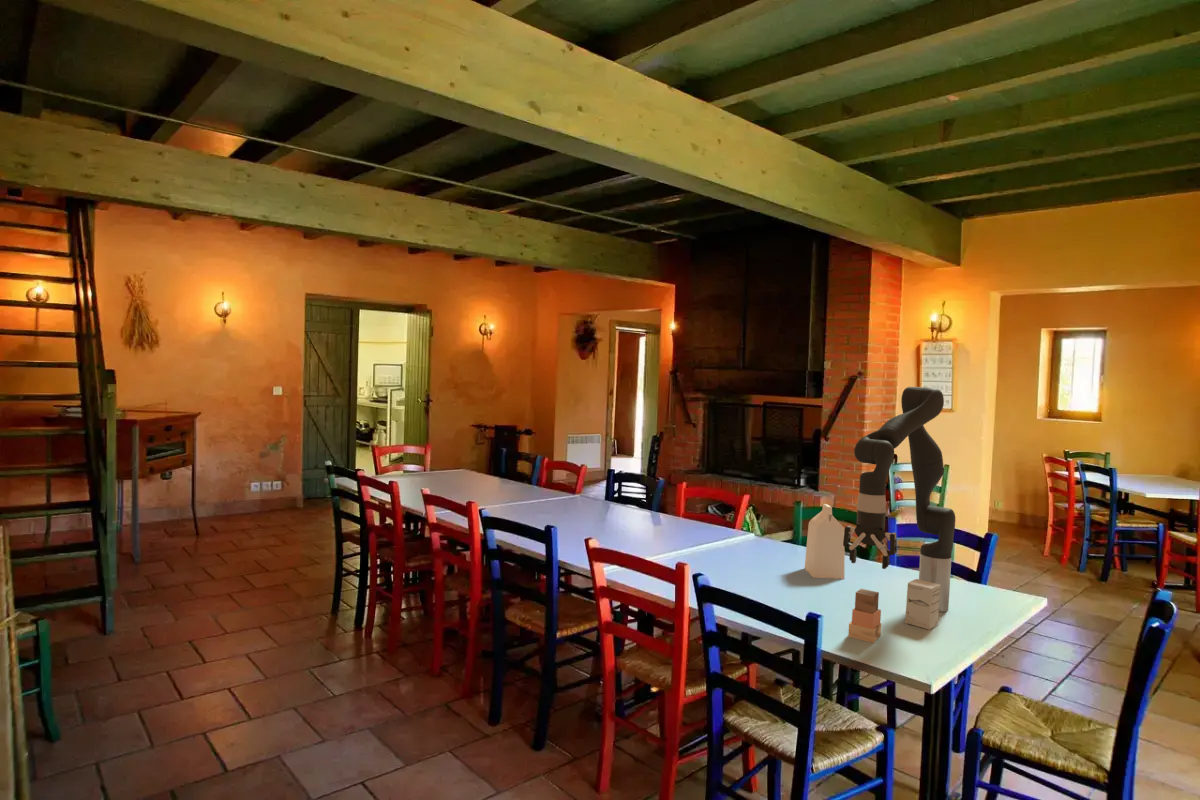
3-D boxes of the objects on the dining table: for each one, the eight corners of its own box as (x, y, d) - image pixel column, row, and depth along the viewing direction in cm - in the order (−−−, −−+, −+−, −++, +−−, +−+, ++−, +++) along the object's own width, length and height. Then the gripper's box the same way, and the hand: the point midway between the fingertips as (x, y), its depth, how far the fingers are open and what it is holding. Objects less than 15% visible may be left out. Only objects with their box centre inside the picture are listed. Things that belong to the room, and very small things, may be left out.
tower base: (855, 630, 205) (856, 617, 204) (880, 636, 200) (881, 623, 200) (848, 637, 199) (848, 623, 199) (873, 643, 195) (874, 629, 195)
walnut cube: (860, 605, 203) (861, 588, 203) (877, 609, 200) (878, 592, 200) (854, 609, 199) (855, 592, 199) (872, 613, 196) (873, 596, 196)
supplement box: (904, 623, 212) (906, 582, 211) (913, 618, 217) (916, 578, 217) (929, 630, 207) (931, 588, 206) (938, 624, 212) (941, 583, 211)
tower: (859, 618, 204) (860, 604, 204) (880, 623, 200) (881, 609, 200) (851, 623, 199) (852, 609, 199) (872, 628, 195) (873, 614, 195)
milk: (844, 578, 258) (848, 509, 257) (813, 577, 258) (816, 507, 257) (834, 569, 270) (837, 503, 269) (804, 568, 270) (807, 502, 269)
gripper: (901, 511, 197) (898, 567, 197) (850, 504, 205) (847, 558, 206) (894, 515, 191) (891, 573, 192) (841, 507, 199) (839, 563, 200)
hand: (868, 565), depth 199 cm, fingers open, 8 cm apart
